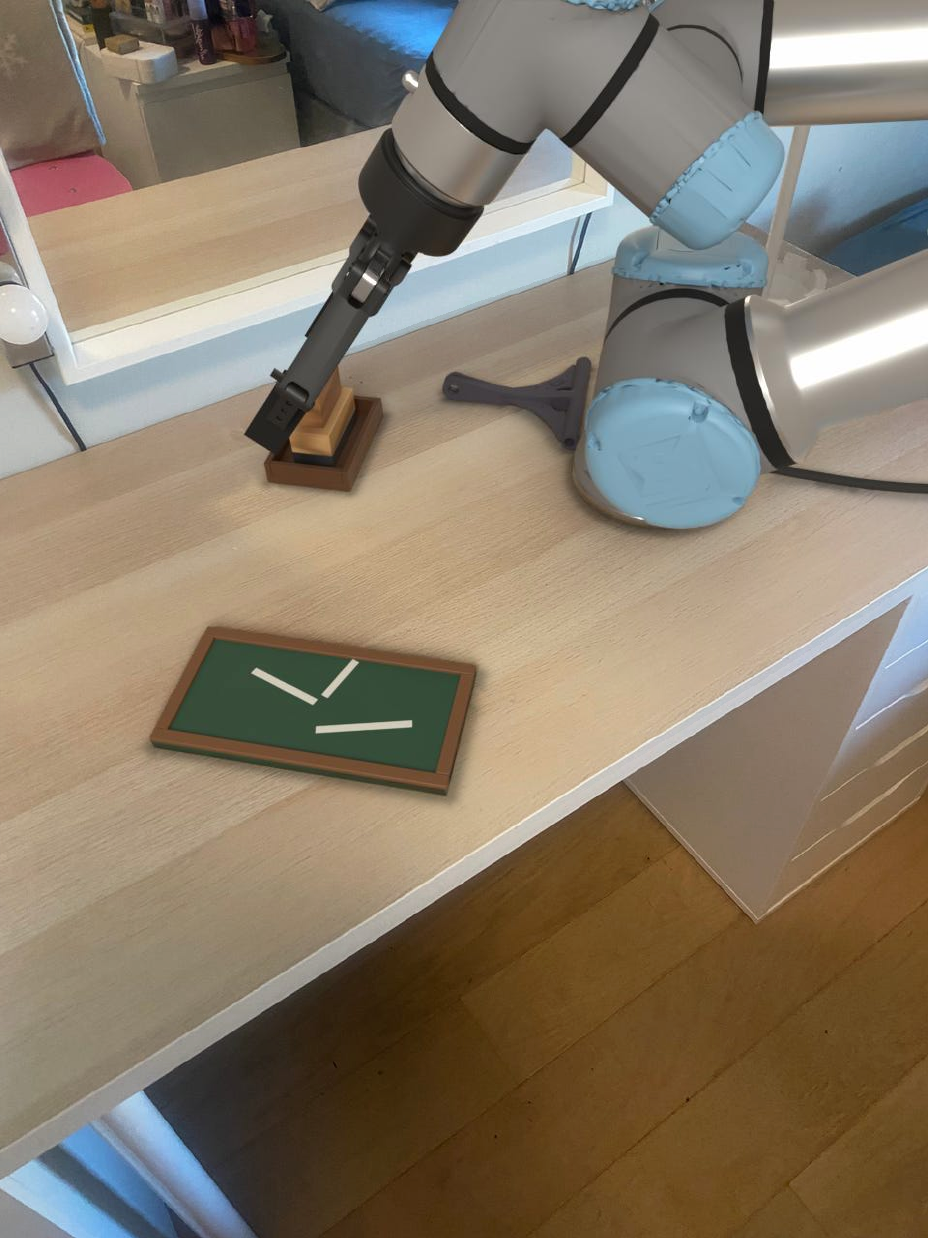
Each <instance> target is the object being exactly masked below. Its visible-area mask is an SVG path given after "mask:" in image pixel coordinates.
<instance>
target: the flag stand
mask: <svg viewBox="0 0 928 1238" xmlns="http://www.w3.org/2000/svg"><path fill="white" fill-rule="evenodd" d="M811 127H812V126H795V127H793V132H792V136H791V141H790V144H789V148H788V153H787V157H786V161H785V165H784V169H783V174H782V179H781V182H780V186H779V190H778V196H777V199H776V204H775V208H774V212H773V216H772V220H771V225H770V229H769V234H768V237H767V241H766V246H765V247H764V248H765V250H766V252H767V254H768V259H769V263H768V269H767V276H766V278H767V280H768V282H767V286H766V287H764V288H763V292H762V296H761V297H762V298H765V299H767V300H769V301H772V302H774V303H777V304H780V305H790V304H792V303H795V302H797V301H800V300H802V299H805V298H807V297H810V296H812V295H815V294H817V293H819V292H822V291H824V290H826V286H827V282H828V278H827V275H826V273H825V271H824V270H823V269H822V268H818V269H812V270H811V271H809V270H808V269H807V268H806V267H807V264H808V258H805V257H803V256H801V255H800V254H796V253H792V252H790V251H788V252H787V253H786V254H785V255H784V257H783V260H780V259H779V256H780V252H781V248H782V244H783V240H784V236H785V232H786V229H787V228H786V227H787V223H788V220H789V215H790V213H791V208H792V204H793V199H794V195H795V192H796V187H797V184H798V183H797V182H798V179H799V175H800V171H801V167H802V163H803V161H804V160H803V159H804V155H805V152H806V149H807V144H808V139H809V136H810V130H811Z"/></svg>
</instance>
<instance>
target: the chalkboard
mask: <svg viewBox="0 0 928 1238" xmlns="http://www.w3.org/2000/svg"><path fill="white" fill-rule="evenodd" d="M476 679H477V664H473V663H465V662H459V661H452V660H445V659H439V658H432V657H425V656H417V655H410V654H403V653H397V652H391V651H383V650H375V649H368V648H362V647H354V646H348V645H340V644H334V643H328V642H320V641H319V642H318V641H314V640H306V639H300V638H293V637H286V636H279V635H271V634H266V633H265V634H264V633H258V632H251V631H243V630H237V629H229V628H223V627H214V626H209V625H208V626H206V628H205V630H204V632H203V633H202V635H201V637H200V639H199V641H198V643H197V645H196V647H195V649H194V651H193V653H192V655H191V657H190V658H189V660H188V662H187V664H186V666H185V668H184V670H183V672H182V674H181V676H180V678H179V679H178V681H177V683H176V685H175V687H174V688H173V691H172V693H171V695H170V697H169V698H168V701H167V702H166V704H165V706H164V707H163V710H162V711H161V714H160V716H159V718H158V719H157V721H156V724H155V726H154V728H153V730H152V732H151V733H150V735H149V740H150V743H151V745H152V747H153V748H154V749H160V750H166V751H172V752H178V753H184V754H189V755H195V756H201V757H209V758H214V759H218V760H219V759H220V760H226V761H232V762H239V763H244V764H250V765H255V766H260V767H261V766H262V767H268V768H274V769H281V770H286V771H292V772H297V773H304V774H309V775H315V776H322V777H326V778H327V777H329V778H334V779H339V780H345V781H346V780H347V781H352V782H357V783H364V784H369V785H377V786H381V787H388V788H395V789H400V790H405V791H413V792H418V793H424V794H429V795H436V796H442V797H447V796H448V793H449V789H450V785H451V781H452V776H453V772H454V770H455V769H454V767H455V765H456V761H457V760H456V759H457V756H458V752H459V748H460V744H461V740H462V735H463V731H464V727H465V723H466V719H467V715H468V711H469V707H470V702H471V699H472V695H473V690H474V686H475V683H476Z"/></svg>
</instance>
